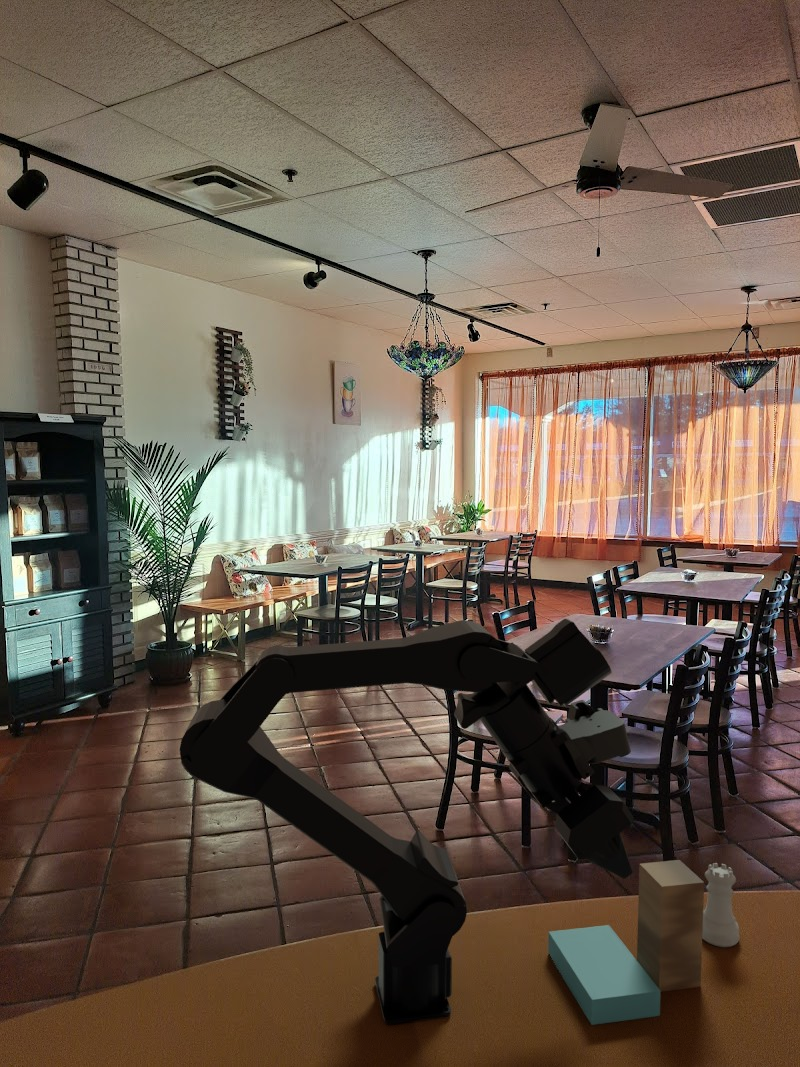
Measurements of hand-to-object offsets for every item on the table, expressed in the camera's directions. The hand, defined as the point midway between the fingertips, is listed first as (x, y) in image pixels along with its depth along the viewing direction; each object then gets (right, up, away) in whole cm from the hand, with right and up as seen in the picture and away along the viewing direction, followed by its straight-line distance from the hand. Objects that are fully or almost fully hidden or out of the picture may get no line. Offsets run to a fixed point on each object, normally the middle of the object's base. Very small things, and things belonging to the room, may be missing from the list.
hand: (607, 851), depth 78 cm
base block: (-1, -14, +1) cm, 14 cm away
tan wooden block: (+7, -14, +2) cm, 15 cm away
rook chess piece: (+15, -13, +9) cm, 22 cm away
